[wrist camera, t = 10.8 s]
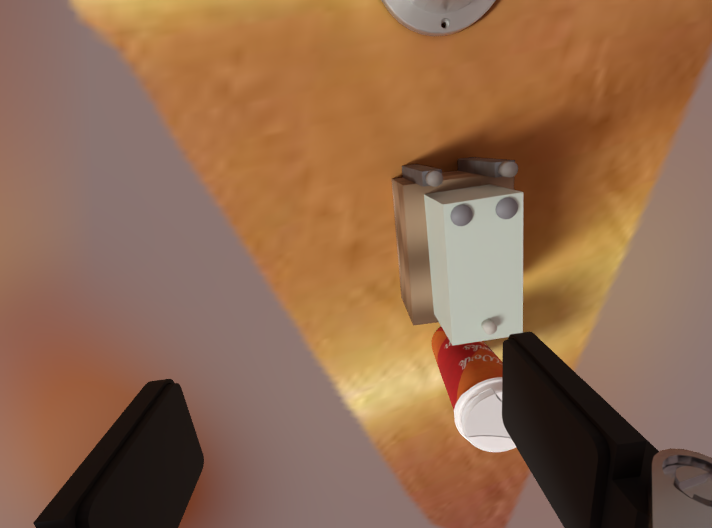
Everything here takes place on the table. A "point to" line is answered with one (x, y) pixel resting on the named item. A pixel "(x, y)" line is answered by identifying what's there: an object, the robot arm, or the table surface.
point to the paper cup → (474, 391)
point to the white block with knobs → (476, 261)
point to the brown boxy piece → (415, 228)
